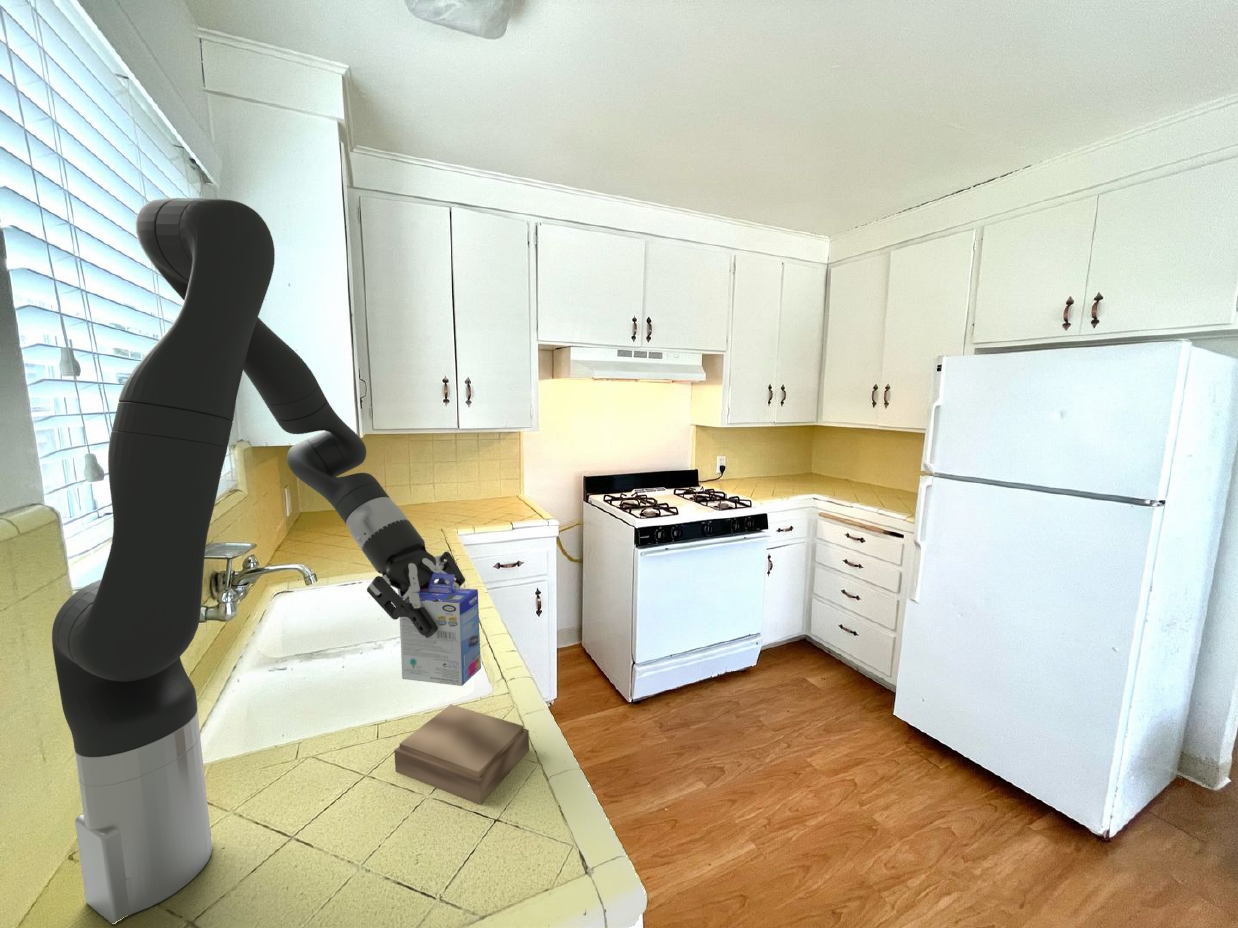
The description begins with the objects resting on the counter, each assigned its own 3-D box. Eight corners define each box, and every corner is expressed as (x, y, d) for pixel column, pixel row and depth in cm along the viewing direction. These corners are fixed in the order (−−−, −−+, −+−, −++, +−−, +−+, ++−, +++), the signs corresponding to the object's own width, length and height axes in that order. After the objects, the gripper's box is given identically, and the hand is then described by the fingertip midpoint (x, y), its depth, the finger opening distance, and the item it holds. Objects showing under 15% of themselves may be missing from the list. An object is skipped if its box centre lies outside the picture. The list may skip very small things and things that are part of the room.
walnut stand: (480, 804, 61) (479, 775, 61) (395, 771, 67) (393, 744, 67) (529, 749, 71) (528, 724, 71) (451, 725, 77) (450, 701, 77)
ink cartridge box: (483, 667, 71) (479, 572, 69) (464, 688, 65) (459, 586, 64) (424, 660, 73) (418, 568, 71) (400, 680, 68) (394, 581, 66)
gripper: (352, 529, 63) (424, 630, 60) (434, 509, 77) (497, 591, 73) (329, 563, 66) (396, 662, 63) (411, 538, 79) (471, 618, 76)
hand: (450, 623), depth 68 cm, fingers closed on ink cartridge box, 6 cm apart
